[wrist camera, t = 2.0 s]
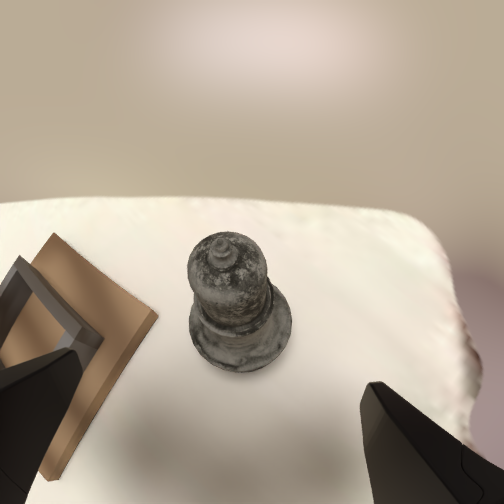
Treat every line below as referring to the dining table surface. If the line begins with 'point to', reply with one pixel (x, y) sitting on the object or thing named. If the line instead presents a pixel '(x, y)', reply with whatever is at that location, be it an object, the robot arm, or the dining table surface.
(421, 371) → the dining table surface
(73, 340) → the collar holder
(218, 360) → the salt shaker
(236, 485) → the dining table surface
